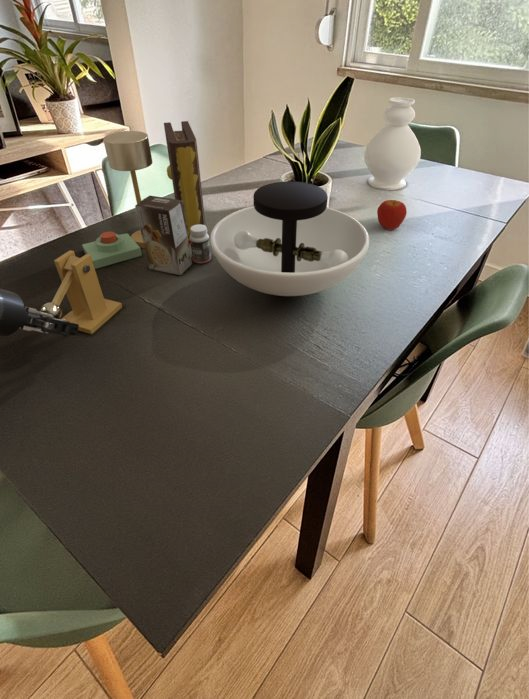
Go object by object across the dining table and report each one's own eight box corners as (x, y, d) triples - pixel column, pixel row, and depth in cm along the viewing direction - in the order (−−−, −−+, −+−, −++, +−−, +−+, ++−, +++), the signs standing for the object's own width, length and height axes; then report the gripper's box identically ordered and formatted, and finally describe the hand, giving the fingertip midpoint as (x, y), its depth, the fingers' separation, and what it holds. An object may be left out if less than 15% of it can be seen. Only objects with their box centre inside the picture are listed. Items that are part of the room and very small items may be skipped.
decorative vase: (423, 182, 146) (443, 99, 129) (396, 197, 136) (414, 109, 119) (378, 170, 155) (391, 91, 138) (350, 183, 145) (360, 100, 129)
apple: (402, 222, 122) (407, 195, 117) (403, 234, 116) (410, 207, 111) (374, 220, 123) (379, 193, 118) (375, 232, 117) (379, 205, 112)
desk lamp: (135, 253, 110) (110, 145, 93) (123, 238, 116) (97, 135, 99) (171, 243, 114) (154, 138, 97) (157, 229, 120) (138, 128, 103)
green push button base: (95, 269, 104) (90, 254, 101) (84, 252, 110) (79, 238, 108) (142, 255, 109) (138, 241, 106) (129, 240, 115) (125, 226, 113)
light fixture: (221, 339, 84) (211, 239, 70) (210, 256, 108) (202, 171, 94) (382, 321, 87) (403, 224, 73) (336, 246, 112) (346, 162, 98)
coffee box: (193, 263, 106) (184, 199, 95) (180, 276, 101) (169, 211, 91) (161, 256, 108) (149, 194, 98) (147, 269, 104) (133, 205, 93)
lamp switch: (60, 326, 80) (47, 318, 76) (45, 322, 81) (32, 314, 77) (91, 266, 83) (80, 256, 80) (76, 262, 84) (65, 252, 81)
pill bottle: (188, 260, 107) (184, 229, 101) (200, 252, 110) (197, 221, 104) (202, 265, 105) (199, 234, 99) (215, 257, 108) (212, 226, 102)
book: (211, 241, 115) (202, 141, 98) (180, 245, 113) (164, 144, 97) (200, 208, 131) (190, 118, 114) (172, 211, 129) (158, 120, 113)
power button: (104, 245, 105) (102, 239, 104) (100, 240, 108) (98, 233, 107) (118, 242, 107) (117, 235, 106) (114, 236, 109) (112, 230, 108)
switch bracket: (91, 334, 85) (70, 274, 76) (60, 325, 87) (36, 266, 78) (122, 307, 92) (106, 249, 83) (92, 299, 94) (73, 242, 85)
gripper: (24, 295, 64) (95, 314, 80) (-44, 276, 68) (37, 298, 84) (10, 343, 64) (84, 353, 80) (-57, 321, 68) (26, 334, 84)
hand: (60, 324), depth 82 cm, fingers open, 7 cm apart
